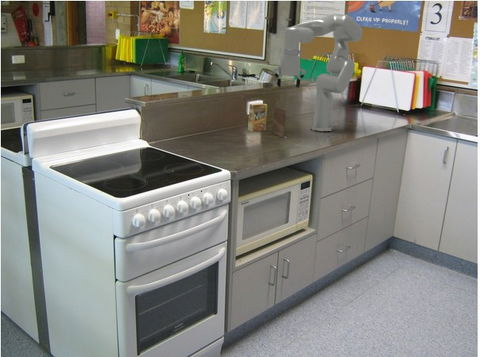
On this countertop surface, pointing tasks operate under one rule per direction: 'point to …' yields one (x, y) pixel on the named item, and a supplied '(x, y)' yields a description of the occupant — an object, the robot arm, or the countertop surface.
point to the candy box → (257, 117)
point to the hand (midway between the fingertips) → (288, 86)
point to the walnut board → (279, 121)
